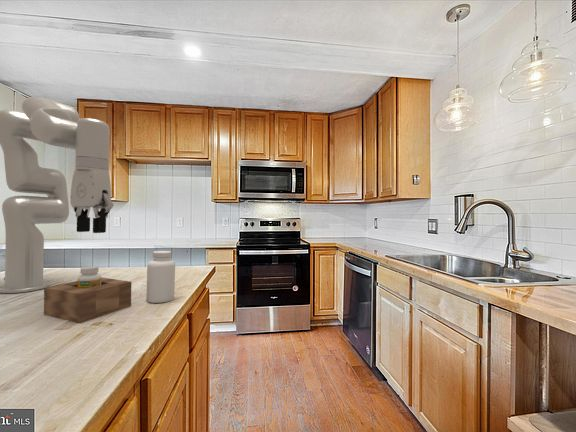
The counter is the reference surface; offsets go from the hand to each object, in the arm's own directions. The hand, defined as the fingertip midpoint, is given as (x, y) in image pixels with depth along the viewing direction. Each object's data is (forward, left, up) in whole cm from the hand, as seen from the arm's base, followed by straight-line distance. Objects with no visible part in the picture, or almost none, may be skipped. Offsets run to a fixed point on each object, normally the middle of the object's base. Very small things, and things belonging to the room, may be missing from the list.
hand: (91, 231), depth 76 cm
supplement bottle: (0, 0, -20) cm, 20 cm away
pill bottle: (+10, +15, -22) cm, 28 cm away
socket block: (0, 0, -22) cm, 22 cm away
